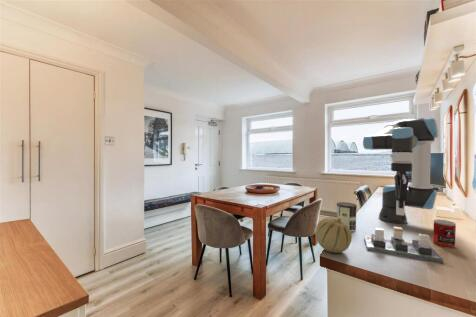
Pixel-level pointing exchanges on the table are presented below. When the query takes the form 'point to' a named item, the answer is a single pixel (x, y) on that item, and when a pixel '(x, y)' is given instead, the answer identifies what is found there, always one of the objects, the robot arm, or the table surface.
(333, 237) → the cantaloupe
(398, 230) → the handle
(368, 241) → the panel
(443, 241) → the canned food
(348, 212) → the coffee can
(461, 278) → the table surface
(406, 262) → the table surface
